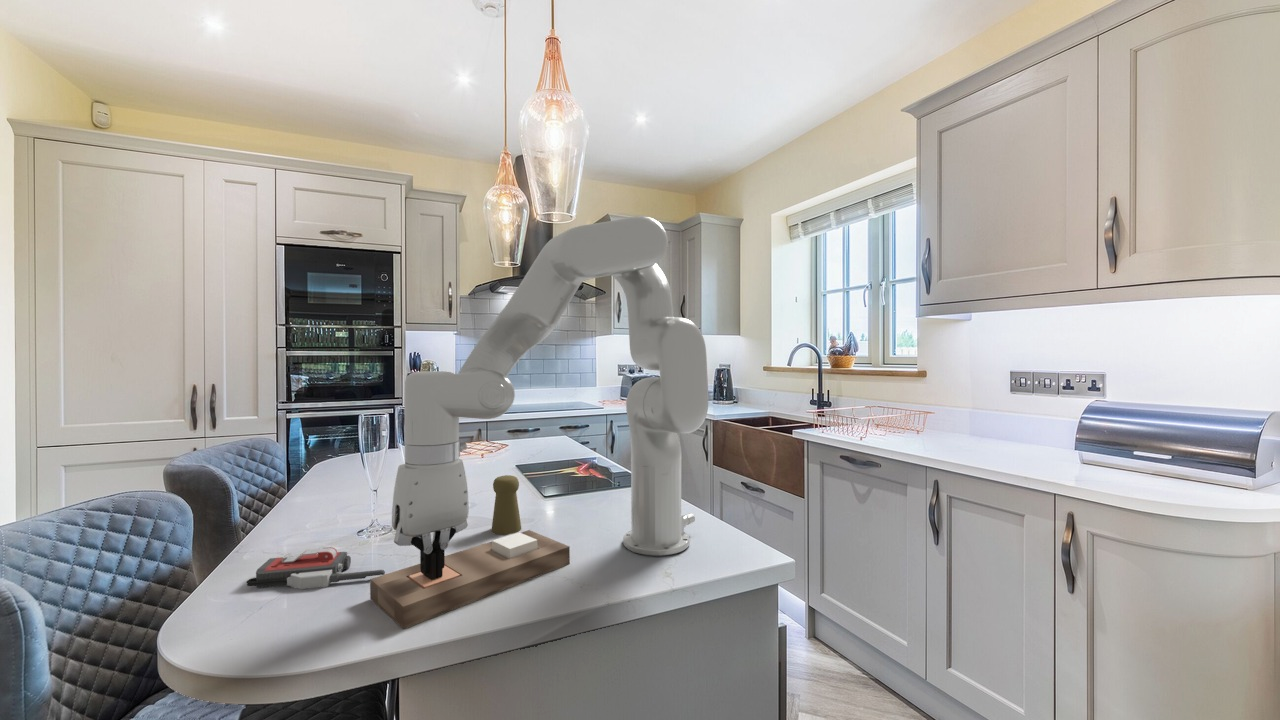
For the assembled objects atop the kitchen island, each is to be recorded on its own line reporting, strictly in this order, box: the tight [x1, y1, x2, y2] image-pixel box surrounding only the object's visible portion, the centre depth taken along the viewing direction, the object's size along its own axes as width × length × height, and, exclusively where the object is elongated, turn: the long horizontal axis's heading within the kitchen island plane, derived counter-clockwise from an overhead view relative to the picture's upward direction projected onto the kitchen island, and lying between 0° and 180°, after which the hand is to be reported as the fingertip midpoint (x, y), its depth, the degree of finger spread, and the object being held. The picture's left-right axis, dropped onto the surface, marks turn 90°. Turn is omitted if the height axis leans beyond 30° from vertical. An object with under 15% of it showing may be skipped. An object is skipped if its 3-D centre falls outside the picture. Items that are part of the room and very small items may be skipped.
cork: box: [491, 474, 522, 536], centre depth 105 cm, size 6×6×11 cm
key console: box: [369, 529, 571, 630], centre depth 81 cm, size 28×12×3 cm, turn 137°
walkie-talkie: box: [246, 546, 386, 590], centre depth 83 cm, size 9×4×20 cm
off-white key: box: [491, 531, 537, 559], centre depth 86 cm, size 5×5×2 cm
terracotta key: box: [409, 566, 460, 589], centre depth 76 cm, size 5×5×2 cm
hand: (432, 575), depth 76 cm, fingers closed
